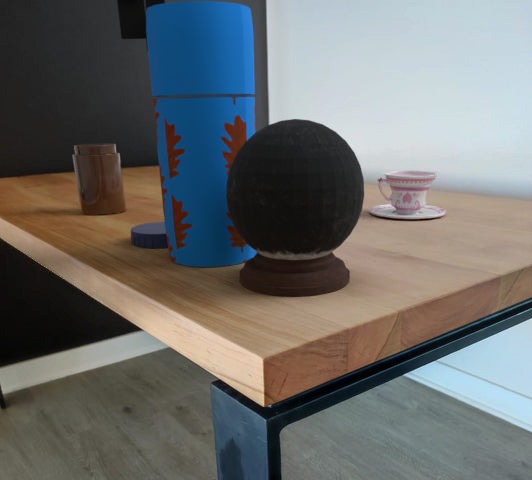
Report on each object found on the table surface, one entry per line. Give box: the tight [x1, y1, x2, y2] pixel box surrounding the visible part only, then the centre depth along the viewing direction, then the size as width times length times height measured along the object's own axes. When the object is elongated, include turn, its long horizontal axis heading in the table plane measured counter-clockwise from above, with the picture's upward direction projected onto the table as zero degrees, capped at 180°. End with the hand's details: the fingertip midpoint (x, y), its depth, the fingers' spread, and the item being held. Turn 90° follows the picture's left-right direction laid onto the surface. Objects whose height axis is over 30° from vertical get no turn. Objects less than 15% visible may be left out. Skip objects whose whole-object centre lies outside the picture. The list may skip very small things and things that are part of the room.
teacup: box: [369, 170, 447, 220], centre depth 86 cm, size 12×12×6 cm
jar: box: [72, 142, 127, 216], centre depth 92 cm, size 8×8×11 cm
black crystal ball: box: [226, 118, 365, 297], centre depth 52 cm, size 13×13×15 cm
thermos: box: [146, 0, 257, 268], centre depth 60 cm, size 11×11×25 cm
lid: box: [130, 221, 168, 249], centre depth 72 cm, size 8×8×2 cm
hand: (148, 45), depth 62 cm, fingers open, 13 cm apart
